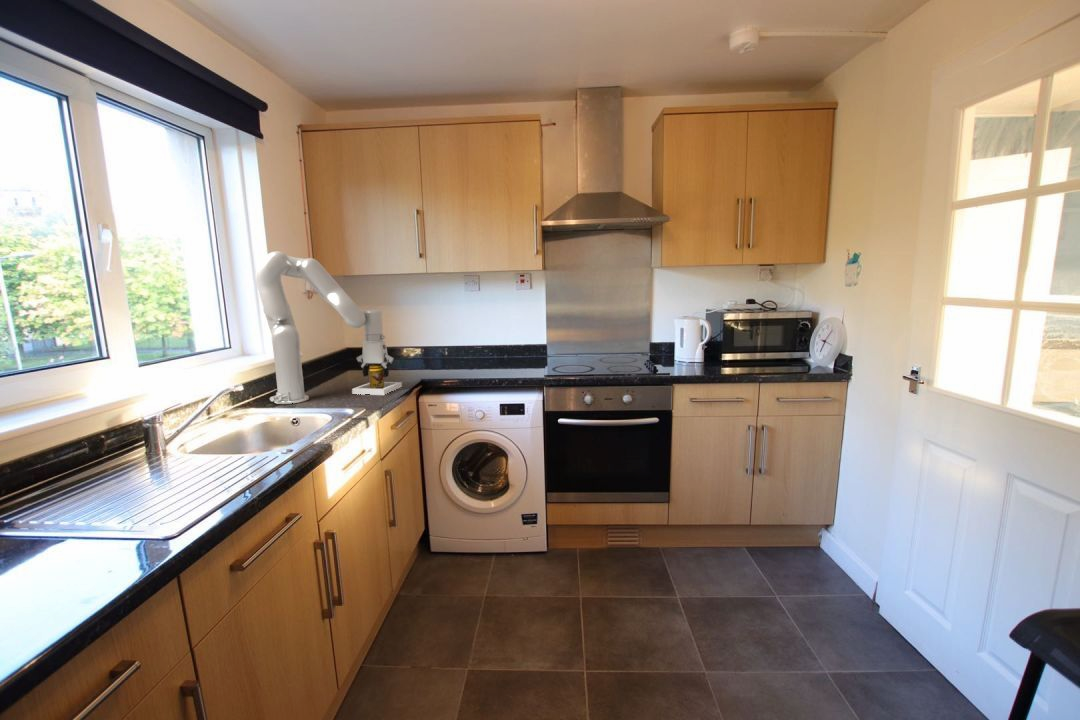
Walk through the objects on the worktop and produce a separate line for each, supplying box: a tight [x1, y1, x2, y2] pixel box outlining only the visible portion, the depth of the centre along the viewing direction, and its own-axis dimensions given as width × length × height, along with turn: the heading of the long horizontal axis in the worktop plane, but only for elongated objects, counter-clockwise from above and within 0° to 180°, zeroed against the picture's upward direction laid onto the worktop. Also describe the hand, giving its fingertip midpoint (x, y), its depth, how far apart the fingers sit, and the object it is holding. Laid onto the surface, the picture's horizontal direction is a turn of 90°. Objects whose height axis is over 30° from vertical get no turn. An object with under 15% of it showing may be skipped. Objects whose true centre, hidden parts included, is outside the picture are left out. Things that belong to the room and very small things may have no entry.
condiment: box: [368, 364, 386, 389], centre depth 205 cm, size 7×8×12 cm
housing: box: [351, 381, 403, 396], centre depth 206 cm, size 16×15×2 cm
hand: (375, 376), depth 205 cm, fingers open, 9 cm apart
